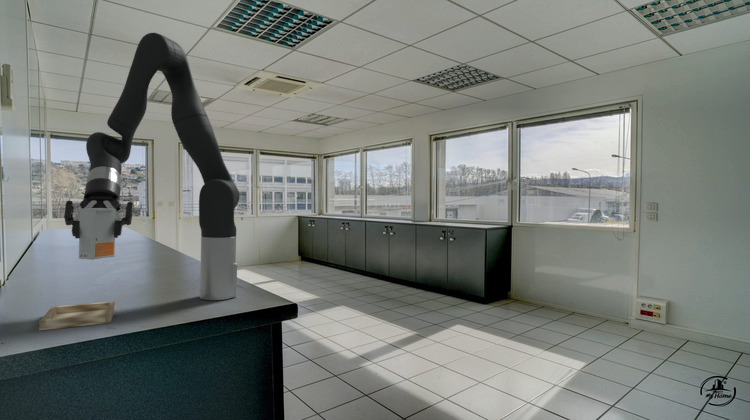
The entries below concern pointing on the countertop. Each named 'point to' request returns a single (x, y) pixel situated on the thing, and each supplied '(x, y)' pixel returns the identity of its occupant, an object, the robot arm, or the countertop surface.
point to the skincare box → (96, 233)
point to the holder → (77, 315)
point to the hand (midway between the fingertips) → (96, 235)
